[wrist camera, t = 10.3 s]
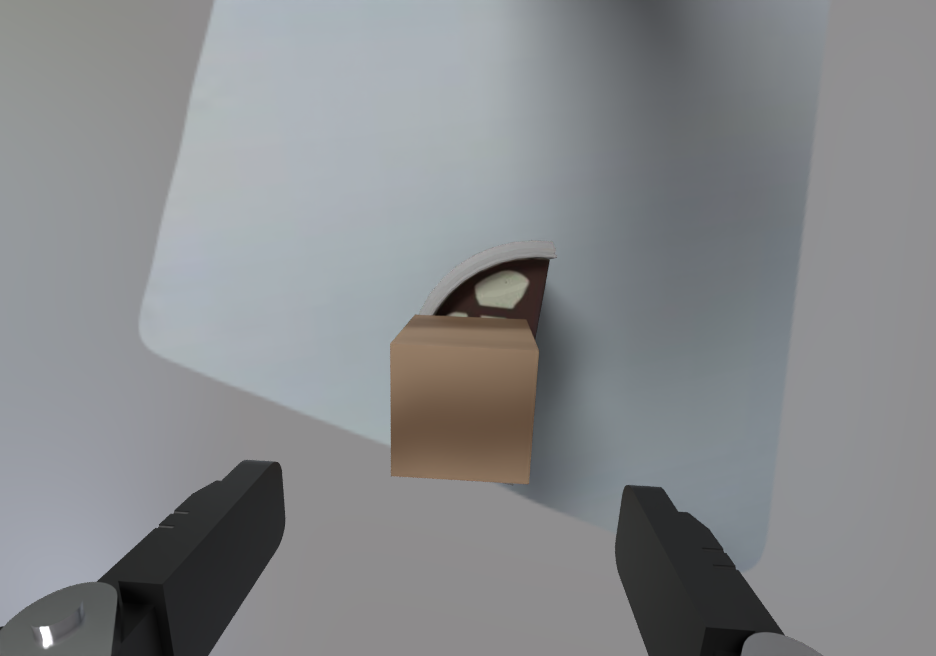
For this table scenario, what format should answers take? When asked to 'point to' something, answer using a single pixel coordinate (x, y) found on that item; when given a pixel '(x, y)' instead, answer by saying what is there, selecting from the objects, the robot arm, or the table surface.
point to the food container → (496, 284)
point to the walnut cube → (463, 399)
